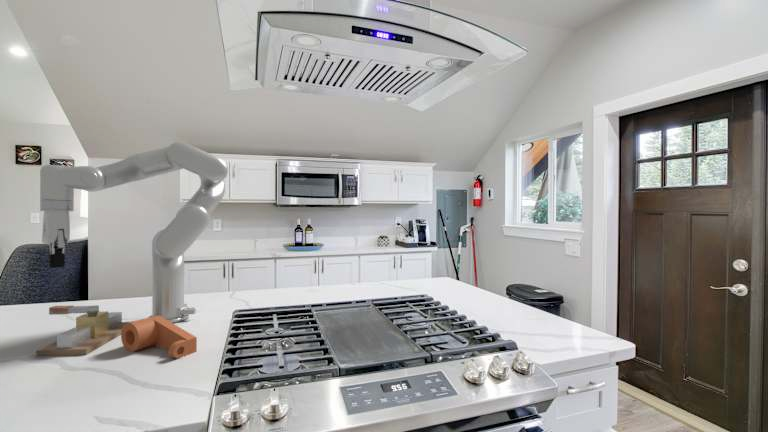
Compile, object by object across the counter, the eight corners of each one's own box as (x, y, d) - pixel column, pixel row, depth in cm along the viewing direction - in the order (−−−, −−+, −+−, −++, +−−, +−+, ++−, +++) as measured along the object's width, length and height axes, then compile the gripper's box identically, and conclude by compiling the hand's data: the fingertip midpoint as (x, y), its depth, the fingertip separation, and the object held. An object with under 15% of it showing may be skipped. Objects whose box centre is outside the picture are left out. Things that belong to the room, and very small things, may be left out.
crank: (121, 349, 100) (121, 321, 100) (150, 340, 107) (150, 313, 107) (168, 362, 92) (168, 331, 92) (196, 351, 99) (196, 322, 99)
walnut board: (98, 327, 118) (98, 322, 118) (137, 326, 119) (137, 321, 119) (36, 356, 94) (36, 350, 94) (86, 354, 95) (86, 349, 95)
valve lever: (101, 311, 108) (101, 304, 108) (94, 313, 105) (94, 307, 105) (55, 312, 107) (55, 305, 107) (48, 314, 104) (48, 308, 104)
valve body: (107, 323, 117) (107, 303, 117) (124, 323, 118) (124, 303, 118) (54, 348, 95) (54, 324, 95) (74, 348, 96) (74, 323, 96)
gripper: (35, 206, 111) (35, 266, 111) (45, 206, 101) (45, 271, 101) (67, 206, 116) (67, 263, 117) (79, 206, 107) (79, 268, 107)
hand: (57, 267), depth 109 cm, fingers closed
